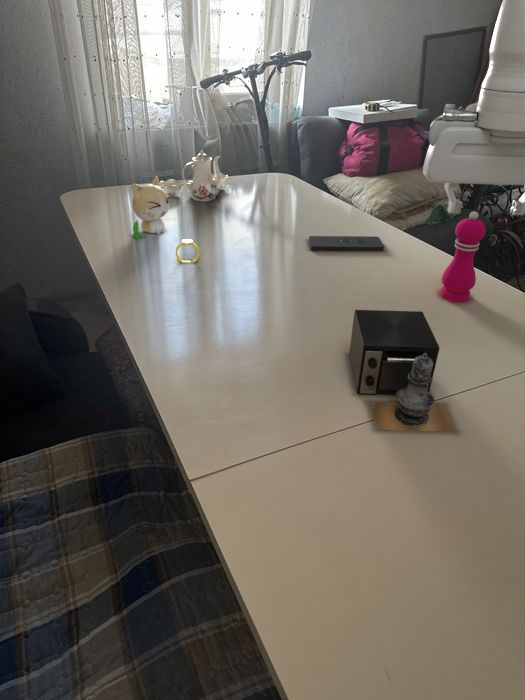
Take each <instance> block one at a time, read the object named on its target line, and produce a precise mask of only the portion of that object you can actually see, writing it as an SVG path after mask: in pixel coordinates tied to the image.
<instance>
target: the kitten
mask: <svg viewBox="0 0 525 700" xmlns="http://www.w3.org/2000/svg"><path fill="white" fill-rule="evenodd" d="M131 191H132V203H131V204H132V210H133V212H134V214H135V215H136V217H137V218H139V220H142V222H141V225H140V226H141V227H139V220H136V221H134V223H133V226H132V232H133V235H132V236H133V237H134V238H136V239H141V238H142V233H141V232H140V231H139V230H140V229H141V230H142V231H143V232H145V233H149V234H155V233H156V234H157V235H159V234H161V233H164V232H165V229H166V227H165V222H164V221H163V219H162V218H163V217H164V216H165V215H167V213H168V212H169V210H170V201H169V196H167V195H166V193H165V192H164V190H163V189H162V188H161V185H160V180H159V177H158V175H156V176H154V178H153V179H152V181H151V182H150V183H147V184H143V185H140V184H137V183H135V182H133V183H131ZM139 228H140V229H139Z"/></svg>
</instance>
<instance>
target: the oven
mask: <svg viewBox="0 0 525 700" xmlns="http://www.w3.org/2000/svg"><path fill="white" fill-rule="evenodd" d="M352 320H353V321H352V329H351V337H350V344H349V353H348V357H349V362H350V367H351V373H352V376H353V382H354V387H355V392H356V395H381V396H396V394H397V392H398V391H399V390H400V389H402V388H404V387H408V383H409V379H408V374H409V373H411V371H412V366H413V362H414V359H415V358H416V357H418V356H423V354H424V353H427V357H429V358H430V359H431V360H432V361H433V368H432V372H431V378H432V379H433V377H434V373H435V369H436V365H437V360H438V356H439V352H440V348H441V347H440V345H439V343H438V341H437V339H436V337H435V335H434V332H433V331H432V328H431V326H430V324H429V322H428V321H427V318H426V316H425V314H424V312H423V311H416V310H413V311H412V310H379V309H378V310H377V309H354V313H353V319H352ZM431 386H432V383H431V384H429V387H428V392H429V393H430V391H431Z"/></svg>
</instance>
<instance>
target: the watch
mask: <svg viewBox="0 0 525 700" xmlns="http://www.w3.org/2000/svg"><path fill="white" fill-rule="evenodd" d="M182 246H193V247H194V248H195V249H196V251H197V255H196V257H195V258H194V259H192V261H191V260H188V259H187V260H184V259H182V258H181V257H180V256H179V254H178V252H179V249H180V247H182ZM175 257H176V259H177V260H178V262H180V263H181V264H187V263H188V264H189V263H196V262H197V261H198V260H199V258H200V249H199V246H198V245H197V244H196V243H195V242H194V240H193V239H191V238H185V239H182V240H181V242H180V243H178V245H177V246H176V248H175Z"/></svg>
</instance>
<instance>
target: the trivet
mask: <svg viewBox="0 0 525 700" xmlns="http://www.w3.org/2000/svg"><path fill="white" fill-rule="evenodd" d="M370 406H371V409H372V414H373V419H374V424H375V428H376V430H386V431H414V432H415V431H417V432H421V431H422V432H445V433H446V432H448V433H449V432H450V433H456V430H455V427H454V425H453V422H452V420H451V418H450V416H449V413H448V411H447V408H446V405H445V403H435V404H434V406H433V407H432V408H431V409H430V411H429V412H428V413H427V414H428V416H429V420H428V422H427V423H426V424H425V425H423V426H420V427H413V426H408V425H405V424H403V423H401V422H400V421H399V420H398V419H397V418H396V416H395V410H396V409H397V407H399V405H398V402H389V401H388V402H387V401H386V402H384V401H370Z"/></svg>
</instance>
